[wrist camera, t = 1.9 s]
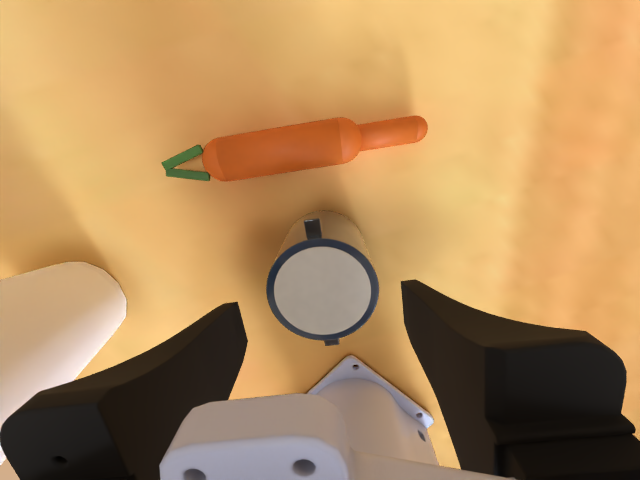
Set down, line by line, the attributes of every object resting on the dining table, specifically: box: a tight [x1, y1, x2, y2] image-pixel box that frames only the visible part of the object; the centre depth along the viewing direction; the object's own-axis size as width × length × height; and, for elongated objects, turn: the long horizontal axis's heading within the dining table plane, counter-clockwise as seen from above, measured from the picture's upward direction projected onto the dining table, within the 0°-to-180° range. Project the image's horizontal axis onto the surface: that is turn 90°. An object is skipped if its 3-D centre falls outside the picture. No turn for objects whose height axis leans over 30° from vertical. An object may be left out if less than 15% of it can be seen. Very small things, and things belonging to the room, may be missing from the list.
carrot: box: [162, 116, 428, 181], centre depth 18 cm, size 16×3×3 cm, turn 99°
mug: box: [266, 211, 379, 346], centre depth 18 cm, size 6×7×7 cm
